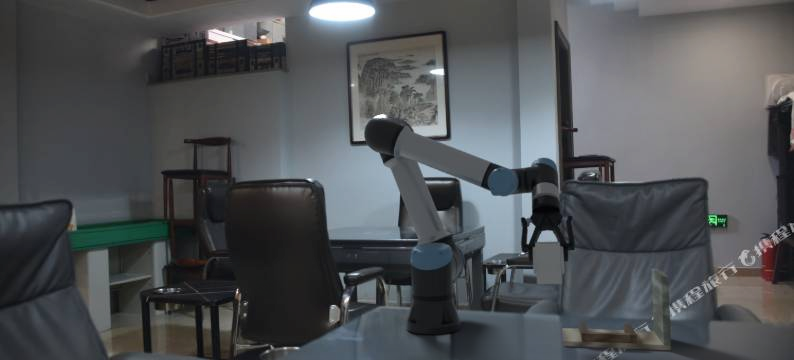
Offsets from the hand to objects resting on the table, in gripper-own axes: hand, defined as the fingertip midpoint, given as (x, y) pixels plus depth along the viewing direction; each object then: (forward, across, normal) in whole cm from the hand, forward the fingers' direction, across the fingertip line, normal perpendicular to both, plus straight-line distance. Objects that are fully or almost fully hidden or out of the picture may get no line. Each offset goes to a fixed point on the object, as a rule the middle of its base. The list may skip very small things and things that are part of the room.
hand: (548, 270), depth 142 cm
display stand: (+10, -15, -16) cm, 24 cm away
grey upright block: (0, 0, -5) cm, 5 cm away
